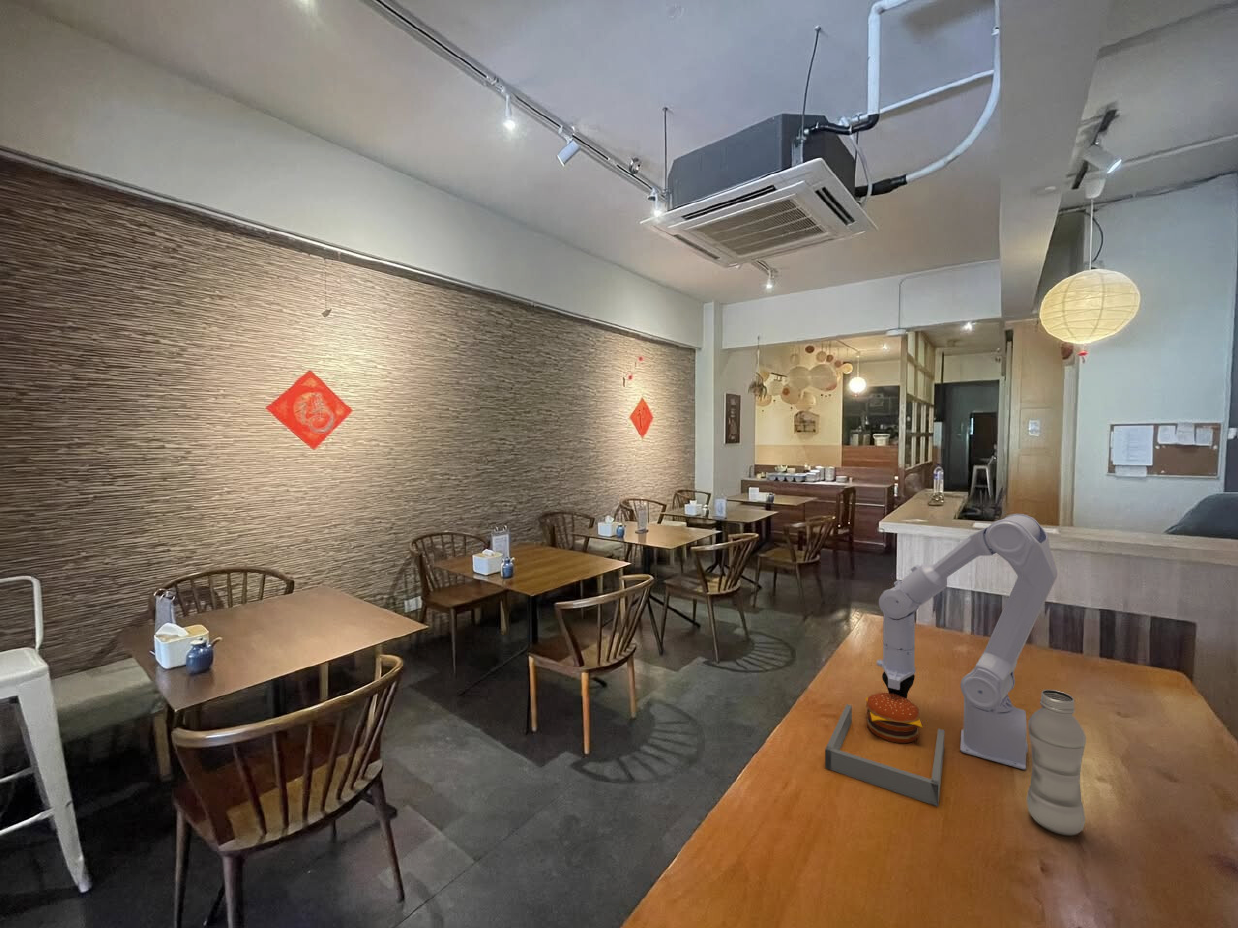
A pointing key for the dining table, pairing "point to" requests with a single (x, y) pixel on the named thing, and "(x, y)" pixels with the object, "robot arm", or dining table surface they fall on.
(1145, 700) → the dining table surface
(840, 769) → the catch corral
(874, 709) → the hamburger
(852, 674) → the dining table surface
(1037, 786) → the plastic bottle
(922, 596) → the robot arm
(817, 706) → the dining table surface
